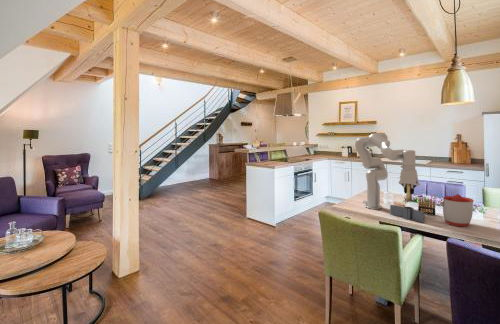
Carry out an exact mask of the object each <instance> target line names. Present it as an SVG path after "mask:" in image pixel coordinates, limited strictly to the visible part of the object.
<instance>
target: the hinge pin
mask: <svg viewBox="0 0 500 324" xmlns="http://www.w3.org/2000/svg"><path fill="white" fill-rule="evenodd" d="M405 194H406V195H405V196H406V197H405V198H406V201H405V202H412V201H413V200H412V195H413V194H411V184H406V193H405Z"/></svg>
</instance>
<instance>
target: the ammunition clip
mask: <svg viewBox="0 0 500 324" xmlns="http://www.w3.org/2000/svg"><path fill="white" fill-rule="evenodd" d="M432 199H433V200H432ZM417 210H418V211H422V212H424V215H430V216H436V201H435V198H430V199H429V198H426V197H422V198H421V197H419V199H418V205H417Z"/></svg>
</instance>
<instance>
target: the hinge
mask: <svg viewBox="0 0 500 324" xmlns="http://www.w3.org/2000/svg"><path fill="white" fill-rule="evenodd" d="M389 205H390V206H389V209H390V210H389V215H390V216H394V215H395V216H396V217H398V218H399V217H400V218H402V219H405V220H411V221H415V222H418V223H421V224H425V214H424V212H422V211H418V209H415V208H414V207H412V206H401V205H394V204H389Z"/></svg>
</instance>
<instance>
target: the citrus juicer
mask: <svg viewBox="0 0 500 324" xmlns="http://www.w3.org/2000/svg"><path fill="white" fill-rule="evenodd" d="M439 206H442V214H443V218H444V221H445V223H446V224H448V225H450V226H455V227H468V226H469V225H470V224H471V221H472V218H473V213H474V212H473V210H474V199H473V198H470V197H466V196H462V195H460V194H458V193H457V194H455V195H446V196H445V195H444V197H443V201H440V203H439Z"/></svg>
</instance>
